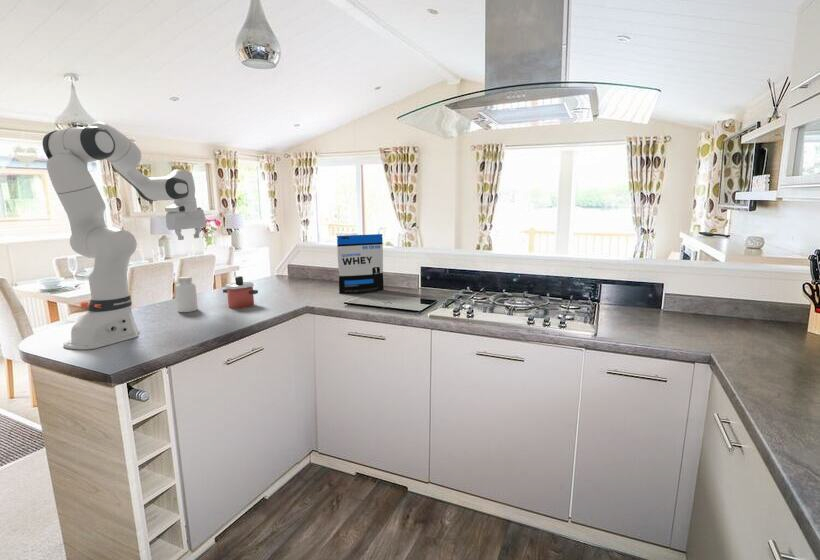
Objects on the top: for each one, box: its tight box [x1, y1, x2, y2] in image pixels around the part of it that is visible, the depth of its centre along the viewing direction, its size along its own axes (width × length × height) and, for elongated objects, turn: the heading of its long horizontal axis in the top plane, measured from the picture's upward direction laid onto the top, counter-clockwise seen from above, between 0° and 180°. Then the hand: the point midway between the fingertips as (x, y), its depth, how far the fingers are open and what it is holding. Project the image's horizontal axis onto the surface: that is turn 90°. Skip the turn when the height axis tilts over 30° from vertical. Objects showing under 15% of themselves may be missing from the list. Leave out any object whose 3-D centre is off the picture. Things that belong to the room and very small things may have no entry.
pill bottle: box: [175, 276, 199, 313], centre depth 190 cm, size 8×8×15 cm
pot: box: [222, 286, 259, 310], centre depth 198 cm, size 11×17×9 cm, turn 75°
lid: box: [225, 276, 254, 289], centre depth 197 cm, size 12×12×4 cm
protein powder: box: [336, 233, 385, 295], centre depth 225 cm, size 10×24×30 cm, turn 113°
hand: (189, 239), depth 193 cm, fingers open, 8 cm apart
